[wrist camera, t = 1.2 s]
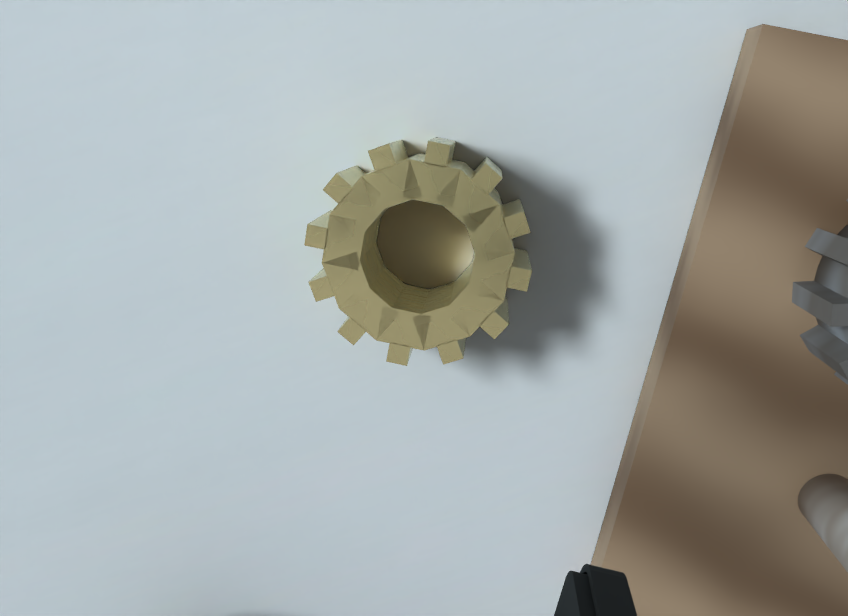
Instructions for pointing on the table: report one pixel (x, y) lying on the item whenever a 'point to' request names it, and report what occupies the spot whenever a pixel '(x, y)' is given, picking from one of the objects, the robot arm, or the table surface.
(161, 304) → the table surface
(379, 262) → the brass gear
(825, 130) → the gear board
